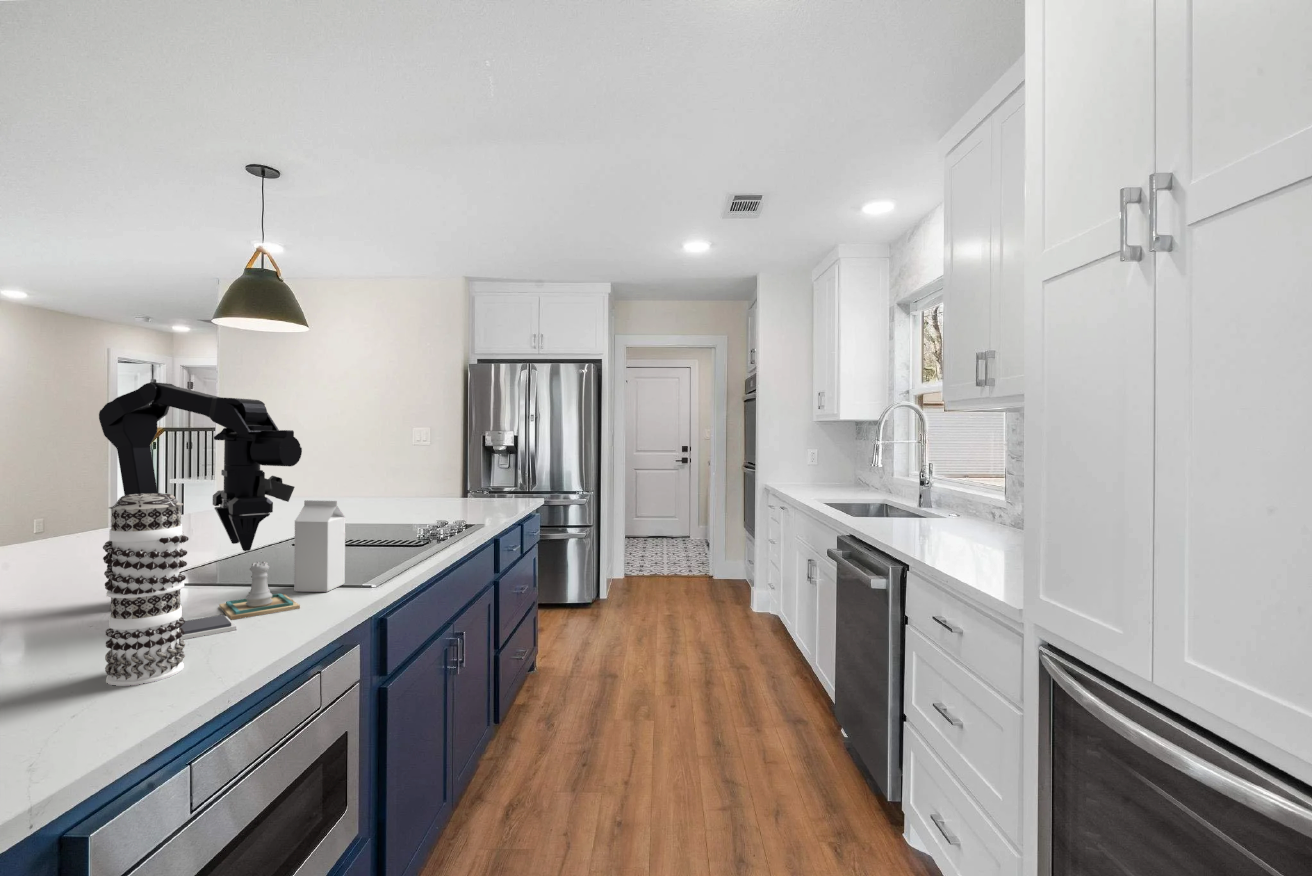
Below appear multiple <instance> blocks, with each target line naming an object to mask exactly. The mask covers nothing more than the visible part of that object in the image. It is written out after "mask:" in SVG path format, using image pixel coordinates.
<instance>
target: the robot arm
mask: <svg viewBox="0 0 1312 876" xmlns="http://www.w3.org/2000/svg"><path fill="white" fill-rule="evenodd" d="M265 405H266V404H265V403H264V402H263V401H261V400H259V399H251V398H240V397H239V398H238V397H236V398H235V397H220V396H217V395H211V394H208V393H205V392H200V391H196V390H192V389H187V388H184V387H180V386H176V385H174V384H172V383H168V382H167V383H166V382H155V381H153V382H152V381H151V382H148V383H145V384H142V386H140V387H139V388H138V389H135V390H133V391H130V392H127V393H125V394H122V395H120V396H118V397H116V398H114V399H113V400H112V401H109V402H107V403H105V404H104V406H103V407H102V408H101V409H100V410H99V413H98V419H99V423H100V427H101V431H102V433H103V436H104V437H105V438H106V439H107V440H108V441H109V442H110V443H111V444H112V445H113V446H114V448H116V451H117V456H118V463H119V464H118V465H119V468H120V476H121V481H122V489H123V493H124V495H123V496H125V495H132V494H146V493H159V491H158V488H157V480H156V473H155V469H154V461H153V457H152V456H153V455H152V449H151V445H152V442H153V441H154V439H155V437H156V435H157V433H158V421H160V420H162V419H163V418H164V417H166V416H167V415H168V413H169V410H170V408H174V409H179V410H183V411H186V412H190V413H195V414H198V415H203V416H205V417H207V418H209V419H210V420H211V421H212V422H213V423H215V424H217V425H218V426H219V425H220V426H221V427H224V428H222V430H221V431H220V432H219V433H217V434H216V435H214V436H213V440H214V441H224V446H223V447H224V448H223V452H224V453H223V455H224V456H223V459H224V460H223V469H221V476H223V490H218V491H216V492H215V493H214V494H213V495H212V506H215V507H214V510H215V512H216V514H217V516H218V517H219V520H220V523H222V526H223V528H224V530H225V532H226V534H227V536H228V538H229V541H230V542H231V544H233V545H234V544H235V545H236V544H240V547H241V549H242V551H244V552H247V551H248V552H249V551H250V550H252V546H253V542H254V540H255V537H256V533H257V531H258V528H259V524H260V523H261V522H262V521H263V520H264V519H266V518H268V517H269V516H270V515H271V514H272V513H273V512H274V511H273V510H274V502H273V501H272V500H271V499H270V498H268V497H269V496H270V497H273V498H275V499H279V500H281V501H283V502H289V501H290V499H291V497H292V494H293V491H294V490H295V486H293V485H290V484H287V483H283V478H282V477H279V476H277V475H276V476H275V475H271V476H270V477H268V478H266V475H265V474H266V473H265V471H264V470H262V469H261V466H263V467H264V466H266V467H268V466H269V467H293V466H295V465H297V464H298V463H299V461H300V460H301V457H302V454H303V453H302V452H303V447H302V446H301V443H300V442H299V439H297V438H296V437H295V434H294V433H295V432H294V430H291V429H290V430H288V429H287V430H286V429H285V430H283V429H281V430H280V429H279V428H278V426H277V425H276V423H275V422H274V420H273V419H272V417H271V416H270V414H269V413H268V410H267V407H266V406H265ZM267 496H268V497H267ZM179 544H181V543H180V542H179ZM109 567H111V565H109V564H106V569H107V568H109Z"/></svg>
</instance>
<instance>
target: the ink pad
mask: <svg viewBox="0 0 1312 876" xmlns="http://www.w3.org/2000/svg"><path fill="white" fill-rule="evenodd" d="M180 628H183V630H184V631H185V634H184V635H182V637H181V638H180V639H182V640H183V641H184V640H188V639H192V638H193V637H194V638H199V637H203V636H204V635H205V636H209V635H215V633H216V634H221V633H226V632H232V631H237V625H236V624H235V623H234V622H233V620H231V619H230V618H229V617H228V616H227V615H226V616H225V614H220V615H212V616H207V617H201V618H195V619H188V620H185V623H184V624H183V625H182V626H181V627H180Z"/></svg>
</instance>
